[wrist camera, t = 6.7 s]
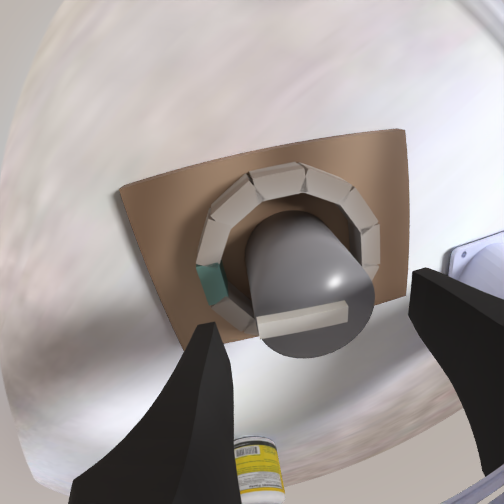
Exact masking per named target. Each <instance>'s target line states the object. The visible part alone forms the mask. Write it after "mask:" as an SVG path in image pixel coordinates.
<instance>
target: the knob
mask: <svg viewBox="0 0 504 504" xmlns="http://www.w3.org/2000/svg"><path fill="white" fill-rule="evenodd" d="M245 262H246V268H247V274H248V280H249V286H250V292H251V298H252V304H253V309H254V315H255V321H256V326H257V330H258V333H259V336H260V339H262V340H263V341H264V343H265V344H266V345H267V346H268V347H270V348H271V349H272V350H274V351H275V352H277V353H279V354H282V355H284V356H288V357H293V358H314V357H319V356H323V355H326V354H329V353H332V352H334V351H336V350H338V349H340V348H342V347H343V346H345V345H346V344H348V343H349V342H351V341H352V340H353V339H354V338H355V337H356V336H357V335H358V334H359V333H360V332H361V331H362V330H363V328H364V327H365V326H366V324H367V322H368V321H369V319H370V316H371V314H372V311H373V308H374V303H375V291H374V286H373V283H372V281H371V279H370V277H369V275H368V274H367V273H366V271H365V270H364V269H363V268H362V266H361V265H360V264H359V263H358V262H357V261H356V259H355V258H354V257H353V256H352V255H351V253H350V252H349V251H348V250H347V249H346V248H345V246H344V245H343V244H342V243H341V242H340V241H339V239H338V238H337V237H336V236H335V235H334V234H333V233H332V231H331V230H330V229H329V228H328V227H327V226H326V225H325V224H324V222H322V221H321V220H320V219H319V218H318V217H316V216H315V215H313V214H311V213H308V212H305V211H299V210H287V211H282V212H278V213H276V214H273V215H271V216H269V217H267V218H266V219H264V220H263V221H262V222H261V223H260V224H258V225H257V227H256V228H255V229H254V230H253V232H252V233H251V235H250V237H249V239H248V241H247V244H246V248H245Z"/></svg>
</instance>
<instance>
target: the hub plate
mask: <svg viewBox="0 0 504 504" xmlns="http://www.w3.org/2000/svg"><path fill="white" fill-rule="evenodd" d="M119 191H120V194H121V197H122V200H123V203H124V206H125V209H126V212H127V215H128V218H129V221H130V224H131V226H132V229H133V232H134V235H135V237H136V240H137V243H138V245H139V248H140V251H141V253H142V256H143V258H144V261H145V264H146V266H147V269H148V271H149V274H150V276H151V278H152V281H153V283H154V286H155V288H156V290H157V293H158V295H159V298H160V300H161V302H162V304H163V307H164V309H165V311H166V314H167V316H168V318H169V320H170V322H171V325H172V327H173V329H174V331H175V333H176V335H177V338H178V340H179V342H180V344H181V346H182V348H183V350H184V351H185V349H186V347H187V345H188V343H189V341H190V339H191V337H192V335H193V332H194V330H195V328H196V327H197V325H199V324H205V323H210V322H215V323H216V325H217V328H218V331H219V334H220V336H221V339H222V342H223V344H225V343H229V342H234V341H239V340H244V339H248V338H253V337H258V336H259V333H258V330H257V326H256V321H255V315H254V309H253V304H252V298H251V292H250V286H249V280H248V274H247V268H246V262H245V248H246V244H247V241H248V239H249V237H250V235H251V233H252V232H253V230H254V229H255V228H256V227H257V225H258V224H260V223H261V222H262V221H263V220H264V219H266V218H267V217H269V216H271V215H273V214H276V213H278V212H282V211H287V210H299V211H305V212H308V213H311V214H313V215H315V216H316V217H318V218H319V219H320V220H321V221H322V222H324V224H325V225H326V226H327V227H328V228H329V229H330V230H331V231H332V233H333V234H334V235H335V236H336V237H337V238H338V239H339V241H340V242H341V243H342V244H343V245H344V246H345V248H346V249H347V250H348V251H349V252H350V253H351V255H352V256H353V257H354V258H355V259H356V261H357V262H358V263H359V264H360V265H361V266H362V268H363V269H364V270H365V271H366V273H367V274H368V275H369V277H370V279H371V281H372V283H373V286H374V291H375V303H374V306H375V305H378V304H381V303H384V302H387V301H391V300H394V299H397V298H400V297H403V296H406V288H407V275H408V258H409V218H410V215H409V175H408V159H407V146H406V135H405V130H402V129H388V130H379V131H370V132H362V133H354V134H346V135H339V136H332V137H326V138H319V139H313V140H307V141H302V142H296V143H290V144H285V145H280V146H275V147H270V148H265V149H260V150H255V151H250V152H246V153H241V154H237V155H232V156H228V157H224V158H220V159H216V160H211V161H207V162H204V163H200V164H196V165H192V166H188V167H184V168H181V169H177V170H174V171H170V172H166V173H163V174H160V175H156V176H153V177H149V178H146V179H143V180H140V181H136V182H133V183H130V184H127V185H124V186H123V187H121V188H120V189H119Z"/></svg>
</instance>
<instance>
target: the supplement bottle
mask: <svg viewBox="0 0 504 504" xmlns="http://www.w3.org/2000/svg"><path fill="white" fill-rule="evenodd" d="M234 453H235V461H236V469H237V476H238V483H239V489H240V495H241V501H242V504H282V503H283V502H284V501H285V490H284V486H283V480H282V475H281V470H280V465H279V460H278V455H277V449H276V445H275V443H274V442H273V441H272V440H270V439H267V438H262V437H247V438H242V439H238V440H236V441H234Z"/></svg>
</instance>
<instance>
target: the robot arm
mask: <svg viewBox="0 0 504 504" xmlns="http://www.w3.org/2000/svg"><path fill="white" fill-rule="evenodd" d="M408 316H409V317H410V319H411V321H412V323H413V325H414V327H415V329H416V331H417V333H418V334H419V336H420V338H421V339H422V341H423V342H424V343H425V345H426V346H427V348H428V349H429V351H430V352H431V353H432V355H433V356H434V358H435V359H436V360H437V362H438V363H439V365H440V366H441V368H442V369H443V371H444V372H445V373H446V375H447V376H448V378H449V380H450V381H451V383H452V385H453V387H454V389H455V391H456V393H457V395H458V397H459V399H460V401H461V403H462V406H463V408H464V410H465V413H466V415H467V418H468V420H469V423H470V425H471V429H472V431H473V435H474V438H475V441H476V444H477V448H478V452H479V457H480V460H481V466H482V471H483V473H484V475H485V478H483V479H482V480H480V481H479V482H477V483H475V484H474V485H472V486H470V487H469V488H467V489H466V490H464V491H462V492H460V493H459V494H457V495H455V496H453V497H452V498H450V499H448V500H446V501H444V502H442V503H440V504H477V503H478V502H480V501H481V500H483V499H484V498H486V497H487V496H489V495H490V494H492V493H493V492H495V491H496V490H497V489H499V488H500V487H502V486H503V485H504V232H501V233H498V234H496V235H493V236H490V237H487V238H484V239H481V240H478V241H475V242H472V243H469V244H466V245H463V246H460V247H457V248H455V249H454V250H453V251H452V253H451V258H450V266H449V273H448V276H447V275H444V274H442V273H440V272H437V271H435V270H432V269H429V268H426V267H425V268H422V269H419V270H416V271H412V284H411V294H410V304H409V313H408ZM68 504H242V501H241V495H240V489H239V483H238V476H237V469H236V461H235V453H234V400H233V380H232V372H231V364H230V360H229V358H228V355H227V352H226V350H225V347H224V344H223V342H222V339H221V336H220V334H219V331H218V328H217V325H216V323H215V322H210V323H205V324H199V325H197V327H196V328H195V330H194V332H193V335H192V337H191V339H190V341H189V343H188V345H187V347H186V349H185V351H184V353H183V355H182V357H181V359H180V360H179V362H178V364H177V366H176V368H175V370H174V371H173V373H172V375H171V377H170V378H169V380H168V381H167V383H166V385H165V386H164V388H163V390H162V391H161V393H160V394H159V396H158V397H157V399H156V400H155V402H154V403H153V404H152V406H151V407H150V408H149V410H148V411H147V412H146V414H145V415H144V416H143V418H142V419H141V420H140V421H139V422H138V423H137V425H136V426H135V427H134V428H133V429H132V430H131V431H130V432H129V433H128V435H127V436H126V437H125V438H124V439H123V440H122V441H121V442H120V443H119V444H118V445H117V446H116V447H115V448H114V449H112V450H111V451H110V452H109V453H108V454H107V455H106V456H105V457H103V458H102V459H101V460H100V461H99V462H97V463H96V464H95V465H93V466H92V467H91V468H89V469H88V470H87V471H85V472H84V473H83V474H81V475H80V476H78V477H77V478H75V479H74V480H73V483H72V487H71V492H70V497H69V502H68ZM488 504H504V493H502V494H501V495H499V496H498V497H497V498H495V499H494V500H492V501H491V502H490V503H488Z"/></svg>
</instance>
